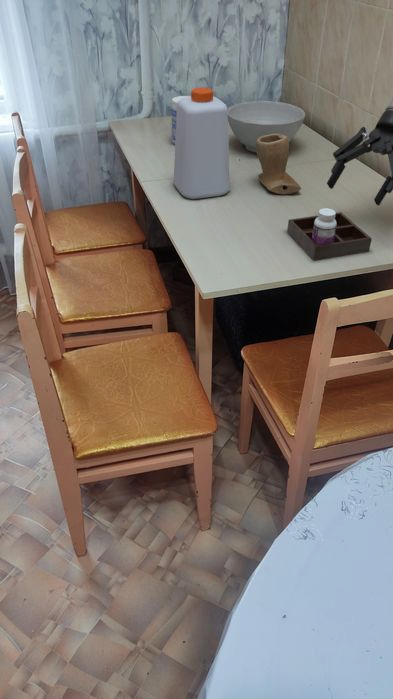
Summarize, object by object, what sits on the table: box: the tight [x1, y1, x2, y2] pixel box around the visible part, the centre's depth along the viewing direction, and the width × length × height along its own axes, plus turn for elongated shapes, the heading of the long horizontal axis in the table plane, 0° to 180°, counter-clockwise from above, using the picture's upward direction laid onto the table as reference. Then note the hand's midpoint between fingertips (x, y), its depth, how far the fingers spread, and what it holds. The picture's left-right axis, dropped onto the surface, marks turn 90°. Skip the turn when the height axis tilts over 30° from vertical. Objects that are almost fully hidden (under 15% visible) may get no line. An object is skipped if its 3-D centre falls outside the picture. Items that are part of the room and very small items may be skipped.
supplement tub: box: [171, 95, 191, 145], centre depth 192 cm, size 10×10×15 cm
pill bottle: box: [312, 207, 337, 245], centre depth 133 cm, size 5×5×10 cm
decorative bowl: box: [227, 100, 306, 154], centre depth 189 cm, size 27×27×12 cm
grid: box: [286, 211, 372, 261], centre depth 139 cm, size 15×15×4 cm
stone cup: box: [256, 134, 302, 195], centre depth 162 cm, size 15×12×15 cm
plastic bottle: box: [173, 87, 231, 200], centre depth 156 cm, size 15×15×28 cm
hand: (352, 194), depth 134 cm, fingers open, 13 cm apart
